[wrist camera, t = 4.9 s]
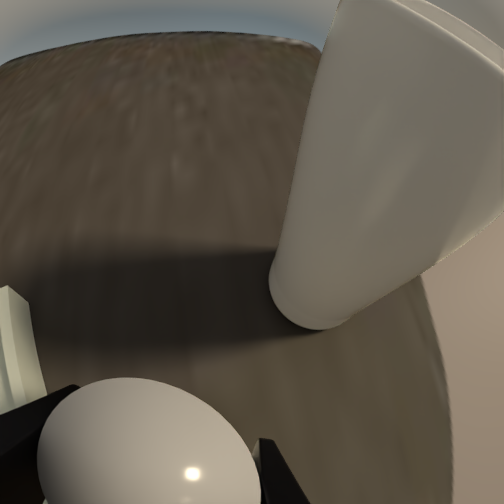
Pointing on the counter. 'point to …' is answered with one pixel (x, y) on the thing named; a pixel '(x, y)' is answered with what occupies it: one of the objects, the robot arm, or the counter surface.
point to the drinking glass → (389, 158)
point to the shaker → (142, 449)
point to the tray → (17, 354)
